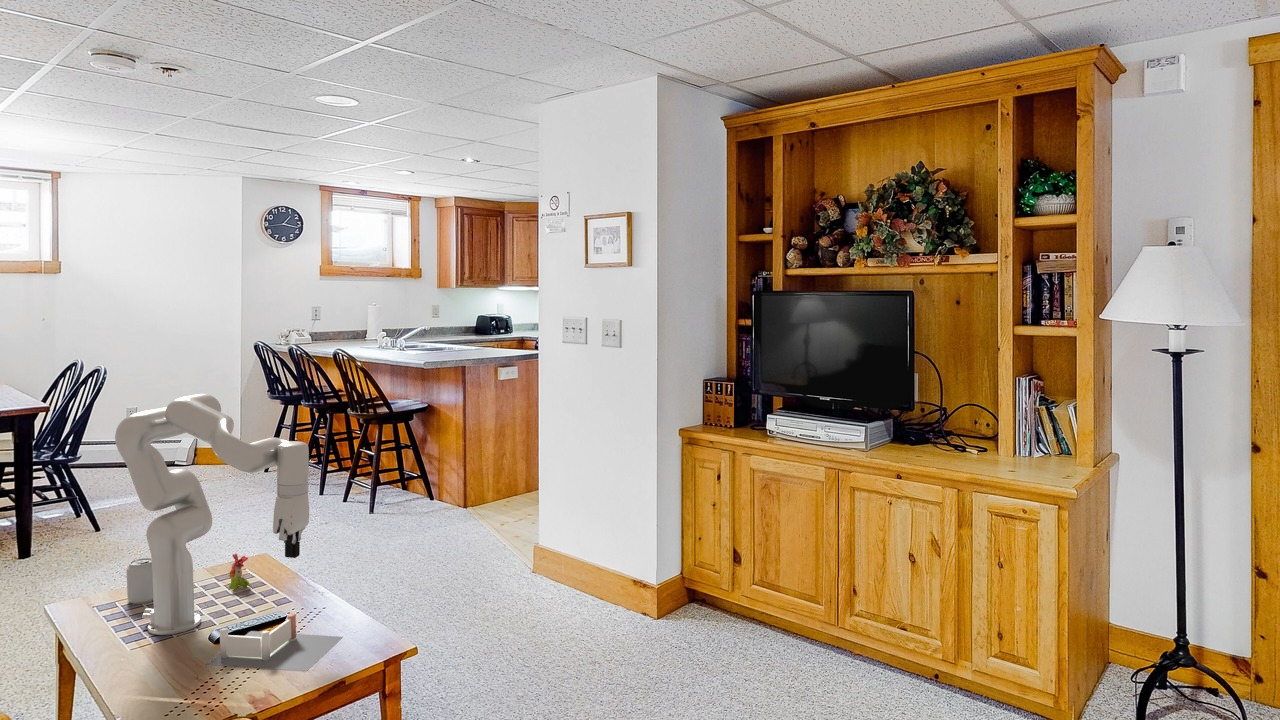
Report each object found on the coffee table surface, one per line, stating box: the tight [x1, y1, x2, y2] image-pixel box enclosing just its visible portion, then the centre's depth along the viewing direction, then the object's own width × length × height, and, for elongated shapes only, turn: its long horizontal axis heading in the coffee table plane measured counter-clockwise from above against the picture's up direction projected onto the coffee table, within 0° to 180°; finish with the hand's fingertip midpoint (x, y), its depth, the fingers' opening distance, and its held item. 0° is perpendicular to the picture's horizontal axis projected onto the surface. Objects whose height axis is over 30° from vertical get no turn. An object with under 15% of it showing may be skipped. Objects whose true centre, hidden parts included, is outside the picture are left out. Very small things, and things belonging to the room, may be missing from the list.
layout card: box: [205, 630, 344, 672], centre depth 200 cm, size 26×19×1 cm
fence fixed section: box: [219, 627, 271, 661], centre depth 195 cm, size 13×2×7 cm, turn 85°
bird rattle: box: [228, 553, 252, 592], centre depth 242 cm, size 6×11×9 cm
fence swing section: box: [270, 613, 297, 653], centre depth 202 cm, size 11×2×6 cm, turn 172°
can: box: [126, 557, 153, 605], centre depth 231 cm, size 8×8×12 cm
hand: (292, 556), depth 206 cm, fingers closed
